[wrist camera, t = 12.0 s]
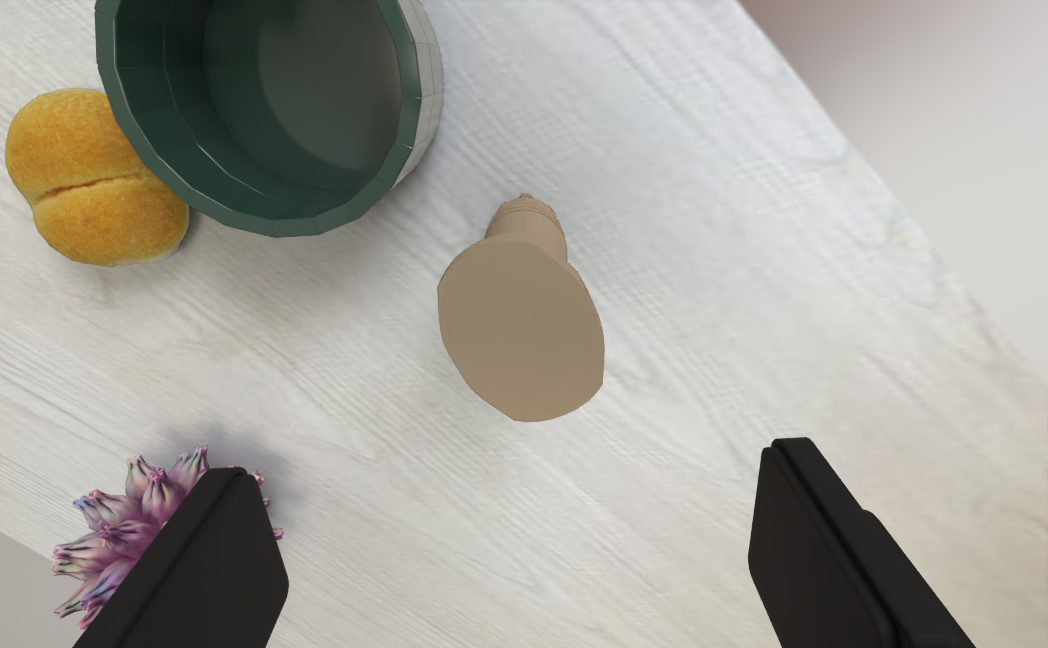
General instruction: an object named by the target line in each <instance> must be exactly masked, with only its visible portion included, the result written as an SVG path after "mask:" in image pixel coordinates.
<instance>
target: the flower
mask: <svg viewBox="0 0 1048 648" xmlns="http://www.w3.org/2000/svg"><path fill="white" fill-rule="evenodd" d="M206 454H207V445H204V446H202V447H201V448H199V447H196V449H195V451H194V454H193V455H192V457H191V458H190V453H185V452H184V453H182V454H180V455H179V457H178V459H177V462H176V464H175V466H174V467H173V468H172V470H171V471H170V472H169V473H168V475H166V473H165V470H164V468H155V467H153V466H151V465H149V464H148V463H146V462H145V461H144V460H143V458H142V456H141V455H137V456H135V457H132V458H131V459H127V460H126V462H127V465H128V469H129V471H128V476H127V480H126V490H125V491H126V495H127V496H124V495H108V494H105V493H103V492H101V491H99V490H97V489H94V491H91V492H90V494H89V496H81V497H80V499H79V500H76V501H74V502H73V505H74V507H76V508H78V509H79V510H81V511H82V512H83V513H84V515H85V517H86V520H87V522H88V524H89V528H90V529H93V530H94V531H96V532H92V533H90V534H87V535H85V536H83V537H81V538H79V539H77V540H76V541H74V542H71V543H68V544H59V545H55V549H54V550H53V552H54V555H53V556H52V558H54V559H63V560H59V561H56V562H54V563H53V565H54V567H53V568H52V570H53V572H54V573H53V575H54V576H56V575H69V576H72V577H74V578H77V579H79V580H83V581H85V582H84V583H83V584H82V585H81V586H80V587H79V588H78V589H77V590H76V592H75V593H74V594H73V595H72V597H71V598H70V599H69V600H68V601H67V602H65V603H64V604H63V605H61V606H60V607H58V608H57V609H56V610H55V611H54V613H57V615H59V616H60V617H59V618H60V619H61V618H63V617H65V616H67V615H69V614H71V613H73V612H76V611H81V610H87V611H88V613H87V615H86V616H85V617H84V618H83V619H82V620H81V621H80V622H79V623H78V625H80V629H84V631H85V630H86V629H87V627H88V626H89V625H90V624H91V622H92V621H93V620H94V618H95V617H96V616H97V614H98V613H99V612H100V610H101V609H102V608H103V606H104V605H105V604H106V602H107V601H108V600H109V598H110V597H111V596H112V594H113V593H114V592H115V590H116V589H117V588H118V586H119V585H120V584H121V582H122V581H123V580H124V578H125V577H126V576H127V574H128V573H129V572H130V570H131V569H132V568H133V567H134V565H135V564H136V563H137V561H138V560H139V559H140V557H141V556H142V555H143V553H144V552H145V551H146V549H147V548H148V547H149V545H150V544H151V543H152V541H153V540H154V539H155V537H156V536H157V535H158V533H159V532H160V531H161V529H162V528H163V527H164V525H165V524H166V523H167V521H168V520H169V519H170V517H171V516H172V515H173V514H174V512H175V511H176V510H177V508H178V507H179V506H180V504H181V503H182V502H183V500H184V499H185V498H186V496H187V495H188V494H189V492H190V491H191V490H192V488H193V487H194V486H195V484H196V483H197V482H198V480H199V479H200V478H201V476H202V475H203V474H204V473H205V472H206V471H207V470H209V469H210V467H209V465H208V462H207V459H206ZM230 467H235V465H229V466H228V467H227V468H230ZM251 475H254V476H255V478H256V480H257V483H258V486H260V485H261V484H262V483H263V482H264V481H265V477H261V476H260V474H258V471H257V470H255V471H253V472H252V473H251ZM263 501H264V504H265V507H268V506H269V505H270V504H271V503H270V500H269V498H264V499H263ZM272 529H273V532H274V535H275V539H276V540H280V539H282V535H283V534H284V531H283V530H282V528H272Z"/></svg>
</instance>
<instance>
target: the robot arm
mask: <svg viewBox="0 0 1048 648" xmlns="http://www.w3.org/2000/svg"><path fill="white" fill-rule="evenodd" d="M748 564H749V570H750V574H751V577H752V579H753V582H754V584H755V586H756V588H757V591H758V593H759V595H760V598H761V600H762V602H763V605H764V607H765V609H766V611H767V614H768V616H769V618H770V621H771V623H772V625H773V628H774V630H775V632H776V634H777V637H778V639H779V641H780V644H781V646H782V648H976V647H975V646H974V644H973V643H972V642H971V640H970V639H969V638H968V636H967V635H966V634H965V632H964V631H963V630H962V628H961V627H960V626H959V625H958V623H957V622H956V621H955V619H954V618H953V617H952V615H951V614H950V613H949V611H948V610H947V609H946V607H945V606H944V605H943V603H942V602H941V601H940V599H939V598H938V597H937V596H936V594H935V593H934V592H933V590H932V589H931V588H930V586H929V585H928V584H927V582H926V581H925V580H924V578H923V577H922V576H921V574H920V573H919V572H918V571H917V569H916V568H915V567H914V565H913V564H912V563H911V561H910V560H909V559H908V557H907V556H906V555H905V553H904V552H903V551H902V549H901V548H900V547H899V545H898V544H897V543H896V542H895V540H894V539H893V538H892V536H891V535H890V534H889V532H888V531H887V530H886V528H885V527H884V526H883V524H882V523H881V522H880V520H879V519H878V518H877V517H876V516H875V515H874V514H873V513H871V512H869V511H867V510H863V509H862V508H861V506H860V505H859V504H858V502H857V501H856V500H855V498H854V497H853V496H852V494H851V493H850V491H849V490H848V489H847V487H846V486H845V485H844V483H843V482H842V481H841V479H840V478H839V477H838V475H837V474H836V473H835V471H834V470H833V469H832V467H831V466H830V464H829V463H828V462H827V460H826V459H825V458H824V456H823V455H822V454H821V452H820V451H819V450H818V448H817V447H816V446H815V444H814V443H813V442H812V441H811V440H810V439H809V438H807V437H801V438H782V439H775V440H773V442H772V444H771V447H766V448H764V449H763V451H762V454H761V462H760V470H759V477H758V485H757V492H756V500H755V507H754V515H753V522H752V530H751V537H750V545H749V553H748ZM288 588H289V580H288V576H287V573H286V570H285V567H284V563H283V560H282V557H281V554H280V551H279V548H278V545H277V542H276V539H275V535H274V532H273V529H272V526H271V523H270V520H269V517H268V514H267V511H266V507H265V504H264V501H263V498H262V495H261V492H260V489H259V486H258V483H257V480H256V478H255V476H254V475H251V474H247V472H246V470H245V469H244V468H242V467H230V468H211V469H209V470H207V471H206V472H205V473H204V474H203V475H202V476H201V478H200V479H199V480H198V482H197V483H196V484H195V486H194V487H193V488H192V490H191V491H190V492H189V494H188V495H187V496H186V498H185V499H184V500H183V502H182V503H181V504H180V506H179V507H178V508H177V510H176V511H175V512H174V514H173V515H172V516H171V517H170V519H169V520H168V521H167V523H166V524H165V525H164V527H163V528H162V529H161V531H160V532H159V533H158V535H157V536H156V537H155V539H154V540H153V541H152V543H151V544H150V545H149V547H148V548H147V549H146V551H145V552H144V553H143V555H142V556H141V557H140V559H139V560H138V561H137V563H136V564H135V565H134V567H133V568H132V569H131V570H130V572H129V573H128V574H127V576H126V577H125V578H124V580H123V581H122V582H121V584H120V585H119V586H118V588H117V589H116V590H115V592H114V593H113V594H112V596H111V597H110V598H109V600H108V601H107V602H106V604H105V605H104V606H103V608H102V609H101V610H100V612H99V613H98V614H97V616H96V617H95V618H94V620H93V621H92V622H91V624H90V625H89V626H88V627H87V629H86V630H85V631H84V633H83V634H82V636H81V637H80V638H79V639H78V641H77V642H76V643H75V645H74V646H73V647H72V648H265V647H266V645H267V642H268V640H269V638H270V635H271V633H272V631H273V629H274V626H275V624H276V622H277V619H278V617H279V615H280V612H281V610H282V608H283V605H284V603H285V601H286V598H287V594H288Z"/></svg>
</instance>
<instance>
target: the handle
mask: <svg viewBox="0 0 1048 648" xmlns="http://www.w3.org/2000/svg"><path fill="white" fill-rule="evenodd" d="M437 292H438V310H439V322H440V330H441V335H442V339H443V343H444V345H445V347H446V349H447V351H448V353H449V355H450V357H451V359H452V360H453V362H454V364H455V365H456V367H457V369H458V370H459V372H460V374H461V375H462V377H463V379H464V380H465V381H466V383H467V384H468V385H469V387H470V388H471V389H472V390H473V391H474V392H475V393H476V394H477V395H478V396H479V397H481V398H482V399H483V400H484V401H486V402H487V403H489V404H490V405H492V406H493V407H495V408H496V409H497V410H499V411H500V412H502V413H504V414H505V415H507V416H508V417H510V418H511V419H513V420H514V421H522V422H539V421H545V420H551V419H554V418H557V417H560V416H563V415H565V414H567V413H569V412H572V411H574V410H576V409H578V408H579V407H581V406H582V405H583V404H585V403H586V402H588V401H589V400H590V399H591V398H592V397H593V396H594V395H595V394H596V393H597V391H598V390H599V389H600V387H601V386H602V384H603V370H604V350H605V347H604V336H603V330H602V326H601V322H600V318H599V315H598V313H597V310H596V308H595V306H594V303H593V301H592V299H591V297H590V295H589V293H588V290H587V288H586V286H585V284H584V282H583V280H582V278H581V277H580V275H579V274H578V272H577V271H576V270H575V269H574V268H573V267H572V266H571V265H570V264H569V263H568V262H567V246H566V241H565V237H564V233H563V231H562V228H561V225H560V223H559V221H558V219H557V217H556V215H555V213H554V211H553V210H552V208H551V207H550V206H548V205H545V204H544V203H542V202H540V201H538V200H536V199H534V198H533V197H532V196H531V194H521V196H520V197H519V198H518V199H515V200H513V201H510V202H505V203H503V204H502V205H501V206H500V208H499V209H498V211H497V213H496V214H495V215H494V217H493V219H492V220H491V222H490V224H489V226H488V229H487V231H486V235H485V239H484V240H481V241H479V242H477V243H475V244H474V245H472V246H470V247H468V248H467V249H465V250H464V251H463V252H462V253H460V254H459V255H458V256H457V257H456V258H455V259H454V260H453V261H452V263H451V264H450V265H449V266H448V268H447V269H446V271H445V273H444V275H443V276H442V278H441V280H440V282H439V285H438V287H437Z"/></svg>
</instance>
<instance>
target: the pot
mask: <svg viewBox="0 0 1048 648" xmlns="http://www.w3.org/2000/svg"><path fill="white" fill-rule="evenodd" d="M94 9H95V32H96V58H97V64H98V65H99V66H98V70H99V73H100V76H101V79H102V82H103V85H104V88H105V91H106V94H107V97H108V100H109V104H110V107H111V110H112V113H113V116H114V117H115V121H116V123H117V124H118V126H119V127H120V129H121V130H122V132H123V134H124V135H125V137H126V138H127V140H128V141H129V143H130V144H131V146H132V147H133V149H134V151H135V152H136V154H137V155H138V157H139V158H140V160H141V161H142V163H143V164H144V165H145V166H146V167H147V168H148V169H149V170H150V171H151V172H152V173H153V174H154V175H155V176H156V177H157V178H158V179H159V180H160V181H161V182H163V183H164V184H165V185H166V186H167V187H168V188H169V189H170V190H171V191H172V192H173V193H174V194H175V195H176V196H177V197H178V198H180V199H181V200H182V201H184V203H186V204H187V205H189V206H191V207H193V208H195V209H196V210H198V211H200V212H202V213H204V214H205V215H207V216H209V217H211V218H213V219H214V220H216V221H218V222H220V223H222V224H223V225H225V226H229V227H232V228H236V229H241V230H245V231H249V232H253V233H257V234H261V235H265V236H270V237H274V238H280V237H296V236H313V235H320V234H323V233H325V232H327V231H330V230H332V229H335V228H337V227H340V226H342V225H345V224H347V223H349V222H352V221H354V220H357V219H358V218H360V217H361V216H362V215H364V214H365V213H366V212H367V211H368V210H369V209H370V208H371V207H372V206H374V205H375V204H376V203H377V202H378V201H379V200H380V199H381V198H382V197H384V196H385V195H386V194H387V193H388V192H389V191H390V190H391V189H392V188H393V187H394V186H396V185H397V184H398V183H399V182H400V181H401V180H402V179H403V178H404V177H405V176H406V175H407V174H409V173H410V172H411V171H412V170H413V169H414V168H415V167H416V166H417V165H418V163H419V162H420V160H421V158H422V157H423V155H424V153H425V152H426V150H427V149H428V147H429V145H430V143H431V140H432V138H433V136H434V135H435V133H436V130H437V126H438V122H439V119H440V114H441V109H442V104H443V94H444V81H443V66H442V61H441V55H440V49H439V45H438V42H437V39H436V36H435V32H434V30H433V28H432V25H431V23H430V21H429V18H428V16H427V14H426V12H425V10H424V8H423V6H422V4H421V3H420V0H97V1H96V4H95V7H94Z"/></svg>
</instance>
